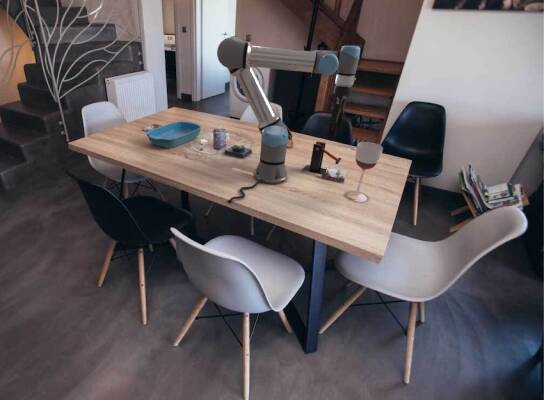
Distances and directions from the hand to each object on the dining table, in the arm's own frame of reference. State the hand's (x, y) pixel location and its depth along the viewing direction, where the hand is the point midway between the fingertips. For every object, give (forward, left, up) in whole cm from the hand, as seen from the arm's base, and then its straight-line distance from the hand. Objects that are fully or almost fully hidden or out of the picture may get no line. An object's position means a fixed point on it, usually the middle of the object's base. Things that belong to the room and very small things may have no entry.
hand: (334, 132), depth 145 cm
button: (-4, +49, -16) cm, 52 cm away
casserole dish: (-7, +92, -20) cm, 94 cm away
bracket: (-4, +5, -20) cm, 21 cm away
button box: (-4, +49, -20) cm, 53 cm away
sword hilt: (+24, +34, -20) cm, 46 cm away
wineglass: (-19, -18, -20) cm, 33 cm away
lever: (-4, +1, -10) cm, 11 cm away
